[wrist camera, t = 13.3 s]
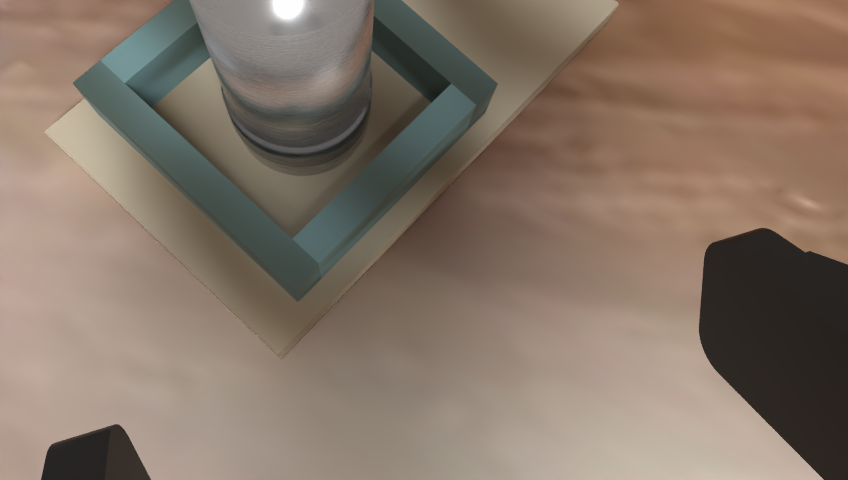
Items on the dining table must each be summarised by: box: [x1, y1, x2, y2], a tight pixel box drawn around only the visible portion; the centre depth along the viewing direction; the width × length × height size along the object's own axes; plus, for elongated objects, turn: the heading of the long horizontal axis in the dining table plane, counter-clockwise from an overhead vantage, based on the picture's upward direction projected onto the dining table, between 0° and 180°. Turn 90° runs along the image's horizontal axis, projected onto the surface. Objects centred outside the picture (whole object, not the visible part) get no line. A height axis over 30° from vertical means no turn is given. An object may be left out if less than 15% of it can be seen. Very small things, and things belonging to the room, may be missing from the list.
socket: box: [189, 0, 374, 176], centre depth 23 cm, size 5×5×10 cm
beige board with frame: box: [44, 0, 619, 359], centre depth 28 cm, size 20×12×4 cm, turn 138°
